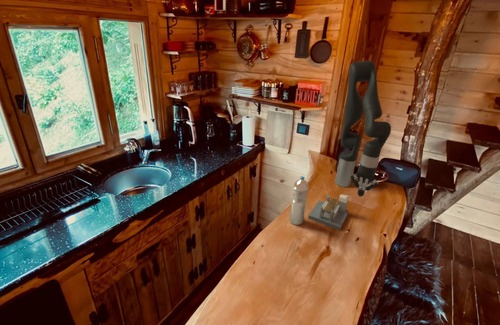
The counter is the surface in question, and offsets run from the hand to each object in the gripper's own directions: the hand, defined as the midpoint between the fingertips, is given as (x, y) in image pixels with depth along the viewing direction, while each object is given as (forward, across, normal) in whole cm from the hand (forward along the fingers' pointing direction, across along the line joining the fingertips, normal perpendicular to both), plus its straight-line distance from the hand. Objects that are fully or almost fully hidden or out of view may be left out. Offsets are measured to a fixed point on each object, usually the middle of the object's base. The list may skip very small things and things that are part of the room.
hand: (360, 195), depth 133 cm
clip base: (+14, -12, -6) cm, 19 cm away
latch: (+6, -7, 0) cm, 9 cm away
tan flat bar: (+8, -12, -6) cm, 15 cm away
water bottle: (+14, -24, -19) cm, 34 cm away
